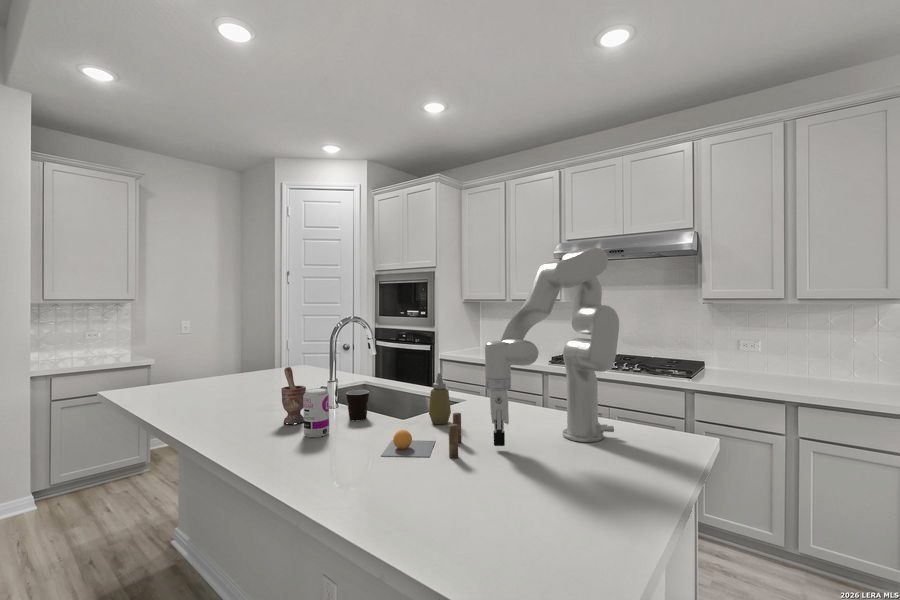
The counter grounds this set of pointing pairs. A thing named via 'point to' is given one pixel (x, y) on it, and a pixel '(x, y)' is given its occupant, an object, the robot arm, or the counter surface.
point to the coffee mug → (357, 404)
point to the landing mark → (410, 449)
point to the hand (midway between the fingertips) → (499, 444)
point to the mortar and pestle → (292, 399)
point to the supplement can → (316, 412)
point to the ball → (402, 439)
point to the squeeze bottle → (439, 402)
